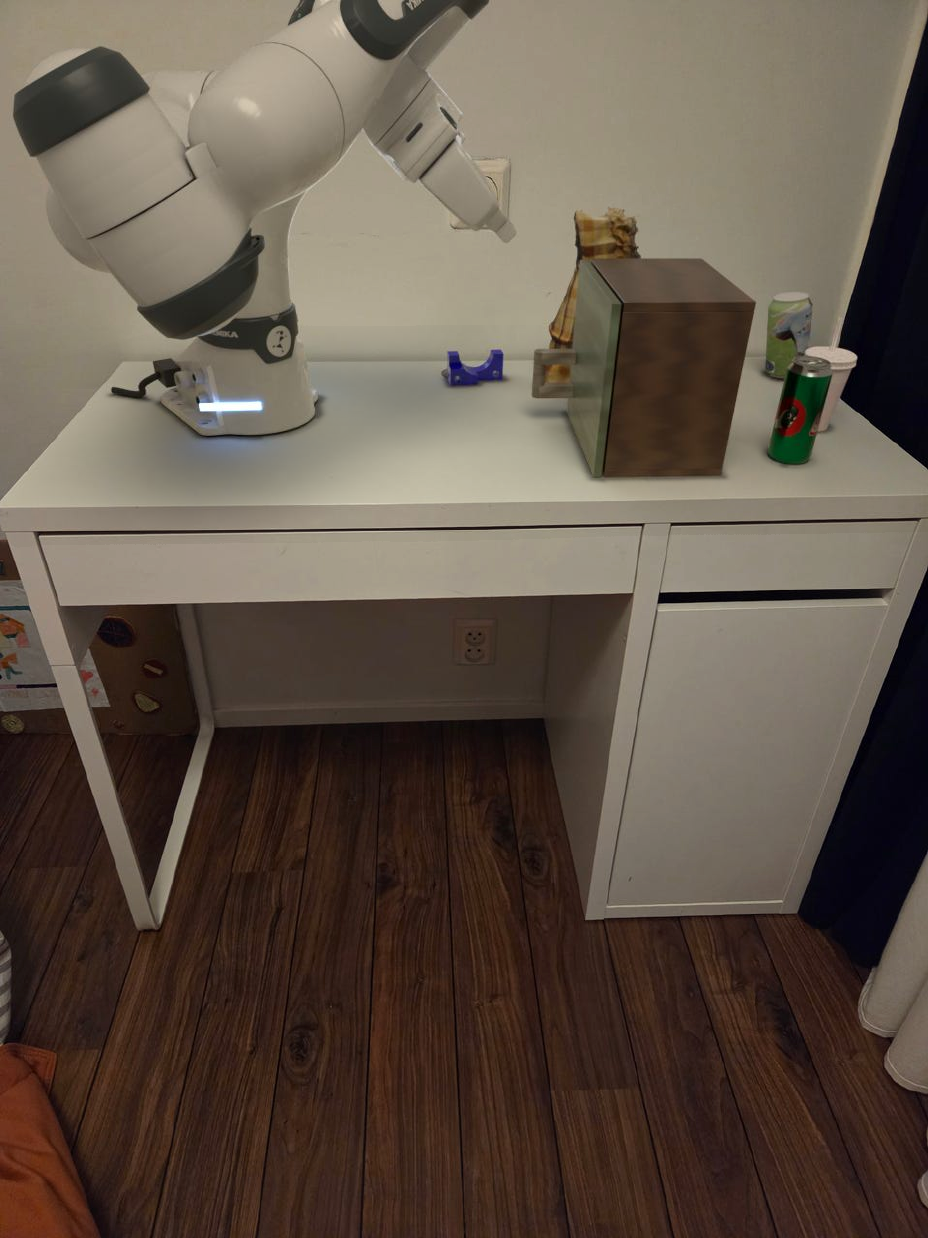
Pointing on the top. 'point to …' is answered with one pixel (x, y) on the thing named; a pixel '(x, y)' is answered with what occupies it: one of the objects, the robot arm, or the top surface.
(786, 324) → the beverage can
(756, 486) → the top surface
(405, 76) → the robot arm
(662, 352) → the cupboard
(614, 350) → the door
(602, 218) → the plaid cloth bag
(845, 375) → the smoothie
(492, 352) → the cable holder
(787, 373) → the soda can
